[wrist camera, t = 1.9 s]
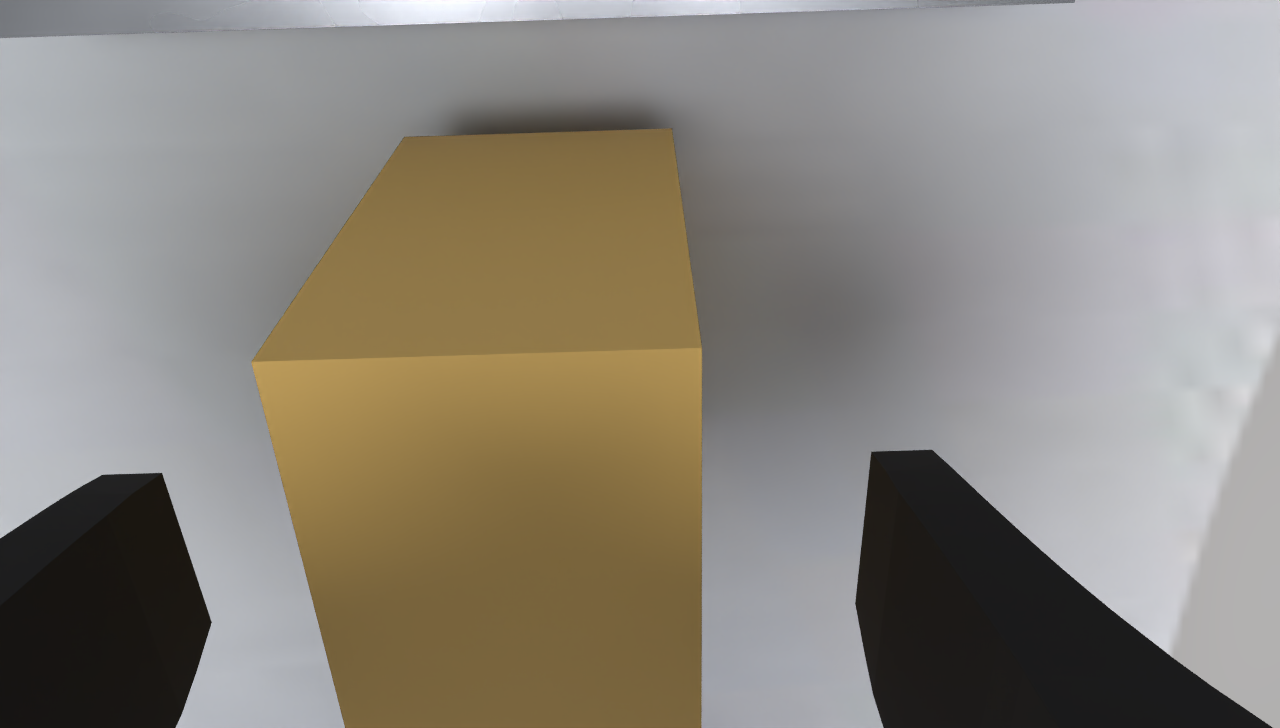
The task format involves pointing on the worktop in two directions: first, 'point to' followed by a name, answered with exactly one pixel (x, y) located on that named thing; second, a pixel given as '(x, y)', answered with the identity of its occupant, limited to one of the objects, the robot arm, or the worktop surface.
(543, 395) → the tan rectangular block
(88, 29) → the recessed gray tray
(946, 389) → the worktop surface
